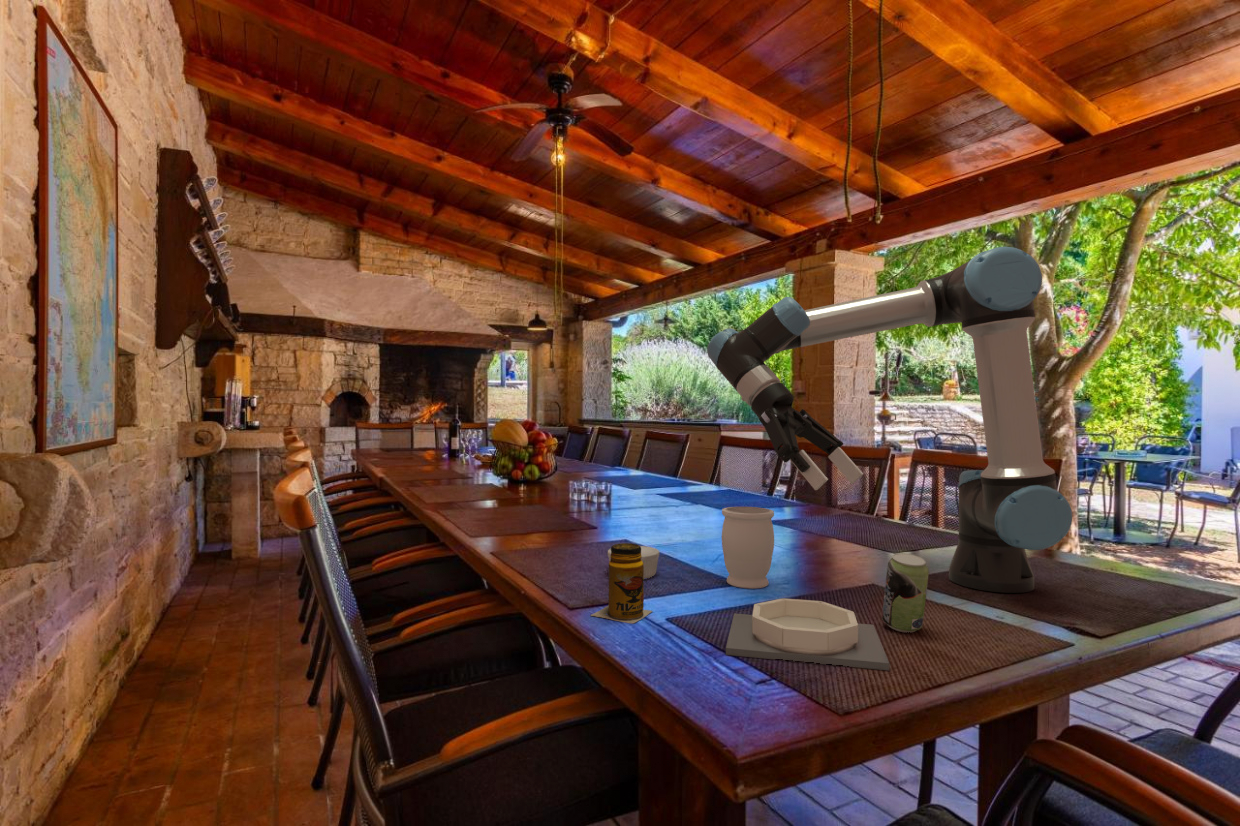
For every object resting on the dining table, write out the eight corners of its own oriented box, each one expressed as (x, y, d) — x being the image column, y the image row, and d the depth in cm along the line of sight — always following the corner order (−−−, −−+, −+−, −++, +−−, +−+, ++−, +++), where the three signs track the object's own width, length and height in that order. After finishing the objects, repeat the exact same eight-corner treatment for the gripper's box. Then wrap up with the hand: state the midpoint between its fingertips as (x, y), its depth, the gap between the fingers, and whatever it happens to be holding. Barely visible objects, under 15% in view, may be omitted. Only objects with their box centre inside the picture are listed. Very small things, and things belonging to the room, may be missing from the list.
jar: (711, 580, 133) (711, 507, 133) (752, 574, 137) (752, 504, 137) (742, 593, 123) (742, 515, 123) (785, 587, 127) (785, 512, 127)
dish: (850, 623, 103) (850, 603, 103) (861, 659, 88) (861, 635, 88) (755, 616, 107) (755, 596, 107) (750, 648, 92) (750, 626, 92)
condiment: (633, 624, 106) (634, 551, 105) (589, 616, 110) (590, 546, 110) (653, 612, 112) (653, 543, 112) (610, 605, 116) (611, 538, 116)
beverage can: (902, 620, 108) (902, 549, 108) (938, 634, 101) (938, 558, 101) (872, 624, 106) (873, 552, 106) (907, 639, 99) (908, 562, 99)
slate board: (873, 630, 103) (873, 624, 103) (889, 670, 87) (889, 663, 87) (734, 619, 108) (734, 613, 108) (725, 654, 93) (725, 647, 93)
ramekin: (636, 566, 145) (636, 542, 145) (670, 576, 136) (670, 551, 136) (596, 574, 138) (596, 549, 138) (630, 585, 129) (630, 559, 129)
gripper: (786, 409, 132) (856, 489, 121) (714, 408, 114) (789, 502, 104) (811, 383, 128) (885, 463, 118) (740, 377, 110) (820, 472, 100)
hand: (840, 482), depth 111 cm, fingers open, 13 cm apart
